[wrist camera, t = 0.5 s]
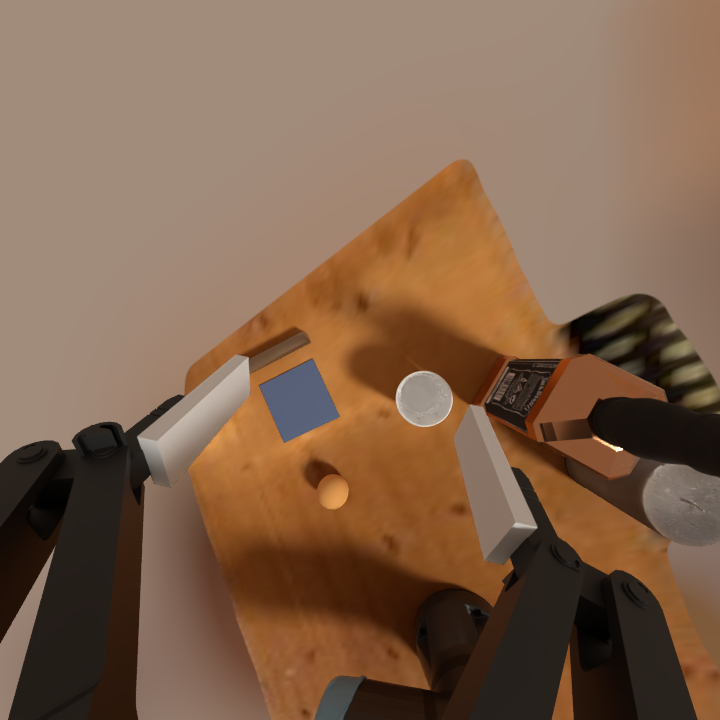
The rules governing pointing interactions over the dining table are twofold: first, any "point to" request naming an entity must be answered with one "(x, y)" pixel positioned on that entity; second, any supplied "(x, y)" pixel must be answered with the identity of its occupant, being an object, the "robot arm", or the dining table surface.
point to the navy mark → (299, 401)
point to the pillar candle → (662, 499)
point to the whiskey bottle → (598, 415)
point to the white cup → (424, 398)
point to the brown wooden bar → (278, 351)
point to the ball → (332, 491)
